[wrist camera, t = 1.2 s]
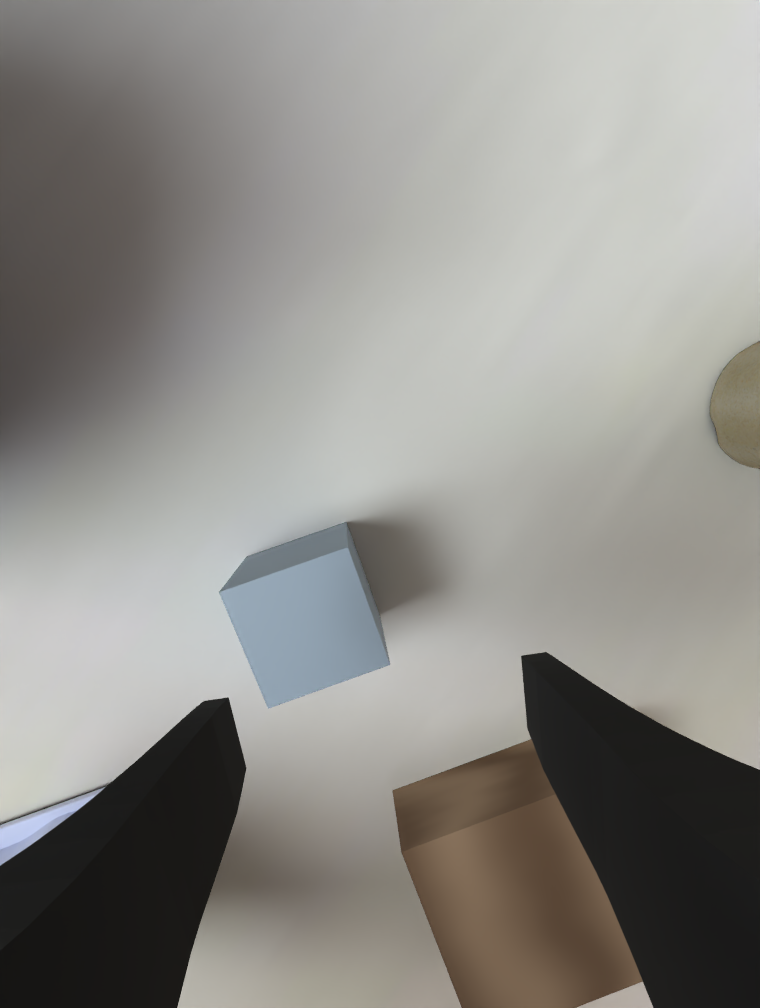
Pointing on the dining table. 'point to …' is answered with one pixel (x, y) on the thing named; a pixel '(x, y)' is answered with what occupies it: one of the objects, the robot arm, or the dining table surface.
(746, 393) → the flower pot
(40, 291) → the dining table surface
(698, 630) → the dining table surface
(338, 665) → the slate cube
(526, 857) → the walnut base block
